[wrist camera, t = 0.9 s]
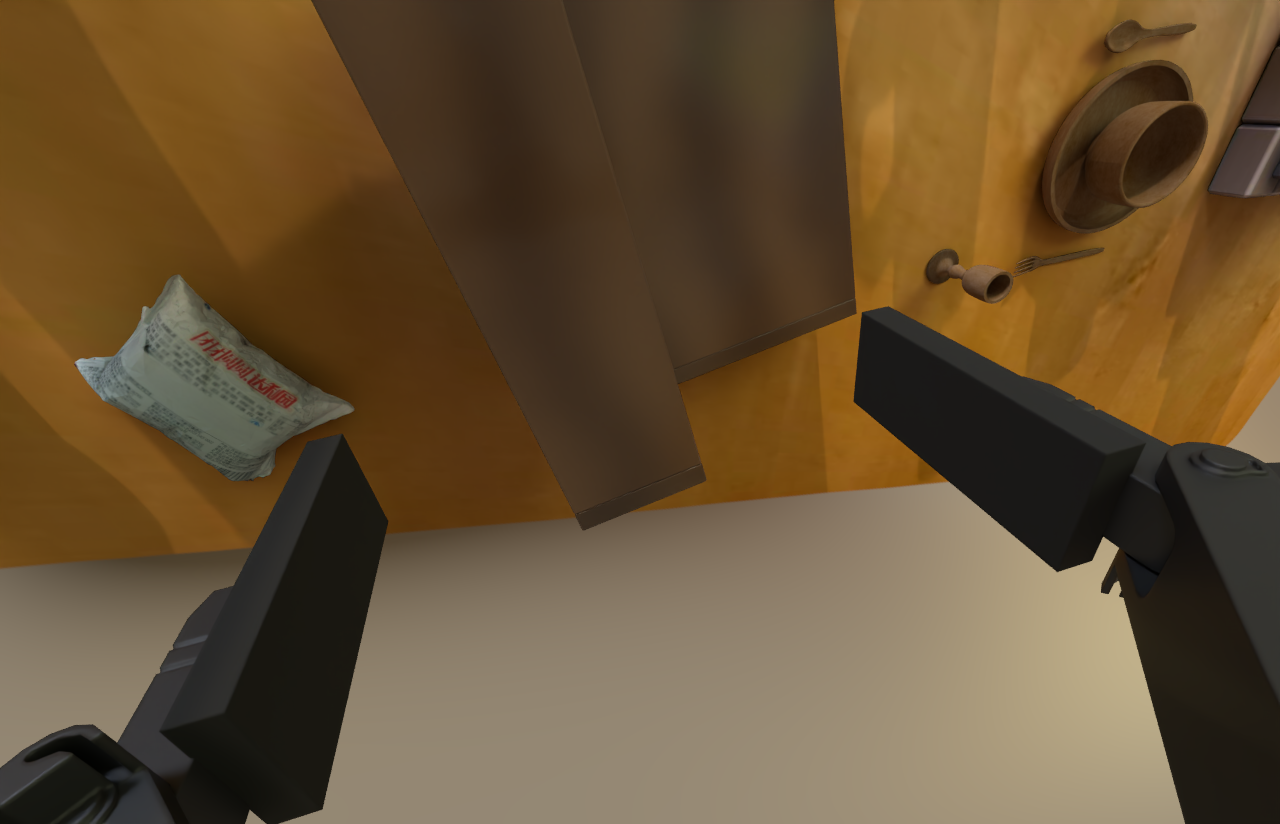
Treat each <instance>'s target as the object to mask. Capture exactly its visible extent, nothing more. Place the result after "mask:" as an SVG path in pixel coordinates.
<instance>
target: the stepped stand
mask: <svg viewBox="0 0 1280 824" xmlns="http://www.w3.org/2000/svg"><path fill="white" fill-rule="evenodd" d="M311 1H312V3H313V5H314V7H315V9H316V10H317V12H318V14H319V16H320V18H321V20H322V22H323V24H324V26H325V28H326V30H327V32H328V34H329V36H330V38H331V40H332V42H333V44H334V46H335V48H336V50H337V51H338V53H339V55H340V57H341V59H342V61H343V63H344V65H345V67H346V69H347V71H348V73H349V75H350V77H351V79H352V81H353V83H354V85H355V87H356V89H357V91H358V92H359V94H360V96H361V98H362V100H363V102H364V104H365V106H366V108H367V110H368V112H369V114H370V116H371V118H372V120H373V122H374V124H375V126H376V128H377V130H378V132H379V133H380V135H381V137H382V139H383V141H384V143H385V145H386V147H387V149H388V151H389V153H390V155H391V157H392V159H393V161H394V163H395V165H396V167H397V169H398V171H399V172H400V174H401V176H402V178H403V180H404V182H405V184H406V186H407V188H408V190H409V192H410V194H411V196H412V198H413V200H414V202H415V204H416V206H417V208H418V210H419V212H420V213H421V215H422V217H423V219H424V221H425V223H426V225H427V227H428V229H429V231H430V233H431V235H432V237H433V239H434V241H435V243H436V245H437V247H438V249H439V251H440V253H441V254H442V256H443V258H444V260H445V262H446V264H447V266H448V268H449V270H450V272H451V274H452V276H453V278H454V280H455V282H456V284H457V286H458V288H459V290H460V292H461V294H462V295H463V297H464V299H465V301H466V303H467V305H468V307H469V309H470V311H471V313H472V315H473V317H474V319H475V321H476V323H477V325H478V327H479V329H480V331H481V333H482V334H483V336H484V338H485V340H486V342H487V344H488V346H489V348H490V350H491V352H492V354H493V356H494V358H495V360H496V362H497V364H498V366H499V368H500V370H501V372H502V374H503V375H504V377H505V379H506V381H507V383H508V385H509V387H510V389H511V391H512V393H513V395H514V397H515V399H516V401H517V403H518V405H519V407H520V409H521V411H522V413H523V415H524V416H525V418H526V420H527V422H528V424H529V426H530V428H531V430H532V432H533V434H534V436H535V438H536V440H537V442H538V444H539V446H540V448H541V450H542V452H543V454H544V456H545V457H546V459H547V461H548V463H549V465H550V467H551V469H552V471H553V473H554V475H555V477H556V479H557V481H558V483H559V485H560V487H561V489H562V491H563V493H564V495H565V496H566V498H567V500H568V502H569V504H570V506H571V508H572V510H573V512H574V513H575V516H576V518H577V520H578V522H579V524H580V526H581V528H582V530H586V529H589V528H591V527H594V526H596V525H598V524H601V523H603V522H606V521H608V520H611V519H613V518H616V517H618V516H621V515H623V514H626V513H628V512H630V511H633V510H635V509H638V508H640V507H643V506H645V505H648V504H650V503H653V502H655V501H658V500H660V499H663V498H665V497H667V496H670V495H672V494H675V493H677V492H680V491H682V490H685V489H687V488H690V487H692V486H695V485H697V484H700V483H702V482H704V481H706V480H707V479H706V476H705V473H704V469H703V466H702V463H701V460H700V456H699V453H698V450H697V446H696V443H695V440H694V436H693V433H692V430H691V426H690V423H689V420H688V416H687V413H686V410H685V407H684V403H683V400H682V397H681V393H680V390H679V387H678V384H679V383H682V382H684V381H687V380H689V379H692V378H694V377H697V376H700V375H702V374H705V373H707V372H710V371H712V370H715V369H717V368H720V367H722V366H725V365H727V364H730V363H732V362H735V361H737V360H740V359H743V358H745V357H748V356H750V355H753V354H755V353H758V352H760V351H763V350H765V349H768V348H770V347H773V346H775V345H778V344H781V343H783V342H786V341H788V340H791V339H793V338H796V337H798V336H801V335H803V334H806V333H808V332H811V331H813V330H816V329H818V328H821V327H824V326H826V325H829V324H831V323H834V322H836V321H839V320H841V319H844V318H846V317H849V316H851V315H854V314H856V300H855V287H854V273H853V259H852V245H851V231H850V217H849V203H848V190H847V176H846V162H845V148H844V134H843V120H842V106H841V92H840V79H839V65H838V51H837V37H836V23H835V9H834V0H311Z"/></svg>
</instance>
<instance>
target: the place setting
mask: <svg viewBox="0 0 1280 824" xmlns="http://www.w3.org/2000/svg"><path fill="white" fill-rule="evenodd" d="M1195 28H1196V24H1192V23H1184V24H1177V25H1171V26H1166V27H1161V28H1155V29H1144V28H1143V27H1142V26H1141V25H1140V24H1139V23H1138V22H1136V21H1134V20H1127V21H1124V22H1122V23H1120V24H1118V25H1117V26H1115V27H1114V28H1112V29H1111V30H1110V31H1109V32H1108V34H1107V35H1106V38H1105V42H1104V44H1105V47H1106V48H1107V49H1108V50H1110V51H1112V52H1115V53H1120V52H1123V51H1125V50H1127V49H1129V48H1130V47H1132V46H1133V45H1134V44H1135V43H1136V42H1138V41H1139V40H1141V39H1143V38H1147V37H1154V36H1166V35H1177V34H1183V33H1187V32H1190V31H1192V30H1194V29H1195ZM1207 131H1208V121H1207V116H1206V113H1205V111H1204V109H1203V108H1202V106H1200V105H1199V104H1198V103H1195V102H1193V94H1192V88H1191V84H1190V81H1189V79H1188V77H1187V75H1186V73H1185V72H1184V71H1183V70H1182V69H1181V68H1180V67H1179V66H1178V65H1176V64H1174V63H1172V62H1169V61H1164V60H1150V61H1144V62H1139V63H1135V64H1132V65H1129V66H1127V67H1124V68H1122V69H1120V70H1118V71H1116V72H1114V73H1113V74H1111V75H1109V76H1108V77H1106V78H1105V79H1103V80H1102V81H1101V82H1099V83H1098V84H1097V85H1096V86H1095V87H1093V88H1092V89H1091V90H1090V91H1089V92H1088V93H1087V94H1086V95H1085V96H1084V97H1083V98H1082V99H1081V100H1080V101H1079V102H1078V103H1077V105H1076V106H1075V107H1074V108H1073V109H1072V111H1071V112H1070V113H1069V115H1068V116H1067V118H1066V119H1065V120H1064V122H1063V124H1062V125H1061V127H1060V129H1059V130H1058V132H1057V134H1056V136H1055V138H1054V140H1053V142H1052V145H1051V147H1050V150H1049V152H1048V155H1047V158H1046V161H1045V166H1044V170H1043V178H1042V195H1043V201H1044V204H1045V208H1046V210H1047V212H1048V214H1049V215H1050V217H1051V218H1052V219H1053V221H1054V222H1056V223H1057V224H1058V225H1059V226H1061V227H1063V228H1065V229H1067V230H1069V231H1073V232H1077V233H1095V232H1098V231H1102V230H1105V229H1107V228H1110V227H1112V226H1114V225H1116V224H1117V223H1119V222H1121V221H1122V220H1124V219H1125V218H1127V217H1128V216H1130V215H1131V214H1132V213H1133V212H1135V211H1136V210H1137V209H1138V208H1144V207H1148V206H1151V205H1153V204H1155V203H1157V202H1159V201H1161V200H1162V199H1164V198H1165V197H1167V196H1168V195H1169V194H1171V193H1172V192H1173V191H1174V190H1175V189H1176V188H1177V187H1178V186H1179V185H1180V184H1181V183H1182V182H1183V181H1184V180H1185V178H1186V177H1187V176H1188V175H1189V173H1190V172H1191V170H1192V169H1193V167H1194V166H1195V164H1196V162H1197V160H1198V159H1199V157H1200V155H1201V152H1202V150H1203V147H1204V144H1205V141H1206V137H1207ZM1103 251H1104V248H1096V249H1090V250H1085V251H1080V252H1076V253H1071V254H1067V255H1063V256H1058V257H1054V258H1050V259H1044V260H1042V259H1040V258H1039V257H1037V256H1033V257H1030V258H1027V259H1025V260H1022V261H1020V262H1018V263H1016V264H1019V263H1022V262H1025V261H1027V260H1030V259H1034V260H1033V261H1030V262H1027V263H1024V264H1022V265H1020V266H1018V267H1016V268H1019V267H1022V266H1025V265H1027V264H1030V263H1033V264H1032V265H1030V266H1027V267H1024V268H1022V269H1019V270H1017V271H1015V272H1014V273H1016V272H1019V271H1022V270H1024V269H1027V268H1030V267H1031V269H1029V270H1026V271H1024V272H1021V273H1019V274H1017V275H1014V276H1012V275H1011V273H1009V272H1007V271H1004V270H1002V269H999V268H996V267H992V266H988V265H977V266H974V267H972V268H970V269H969V270H965V269H964V268H963V267H962V266H960V265H958V261H959V259H958V255H957V253H956V252H955V251H954V250H951V249H945V250H942V251H940V252H938V253H937V254H936V255H935V256H934V257H933V258H932V259H931V260H930V262H929V264H928V267H927V277H928V279H929V280H930V281H931V282H932V283H935V284H939V283H943V282H945V281H947V280H948V279H949V278H950V277H951V278H954V279H957V278H960V279H961V280H962V287H963V289H964V290H965V291H966V292H967V293H968V294H969V295H971V296H973V297H975V298H977V299H979V300H982V301H984V302H987V303H991V304H993V303H997V302H999V301H1001V300H1002V299H1004V298H1005V297H1006V296H1007V295H1008V293H1009V292H1010V290H1011V288H1012V285H1013V277H1016V276H1019V275H1021V274H1024V273H1026V272H1029V271H1032V270H1034V269H1035V268H1037V267H1038V266H1041V265H1046V264H1051V263H1056V262H1061V261H1066V260H1070V259H1075V258H1079V257H1084V256H1088V255H1092V254H1096V253H1100V252H1103Z"/></svg>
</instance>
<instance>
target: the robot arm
mask: <svg viewBox="0 0 1280 824" xmlns="http://www.w3.org/2000/svg"><path fill="white" fill-rule="evenodd" d="M854 402H855V403H856V404H857V405H858V406H859V407H861V408H862V409H863V410H864V411H865V412H867V413H868V414H869V415H870V416H871V417H873V418H874V419H875V420H876V421H877V422H879V423H880V424H881V425H882V426H883V427H884V428H886V429H887V430H888V431H889V432H890V433H892V434H893V435H894V436H895V437H896V438H898V439H899V440H900V441H901V442H902V443H904V444H905V445H906V446H907V447H908V448H910V449H911V450H912V451H913V452H914V453H916V454H917V455H918V456H919V457H920V458H922V459H923V460H924V461H925V462H926V463H927V464H929V465H930V466H931V467H932V468H933V469H935V470H936V471H937V472H938V473H939V474H941V475H942V476H943V477H944V478H945V479H947V480H948V481H949V482H950V483H951V484H953V485H954V486H955V487H956V488H957V489H959V490H960V491H961V492H962V493H963V494H965V495H966V496H967V497H968V498H969V499H971V500H972V501H973V502H974V503H975V504H977V505H978V506H979V507H980V508H981V509H982V510H984V511H985V512H986V513H987V514H988V515H990V516H991V517H992V518H993V519H994V520H996V521H997V522H998V523H999V524H1000V525H1002V526H1003V527H1004V528H1005V529H1006V530H1008V531H1009V532H1010V533H1011V534H1012V535H1014V536H1015V537H1016V538H1017V539H1018V540H1019V541H1021V542H1022V543H1023V544H1024V545H1026V546H1027V547H1028V548H1029V549H1030V550H1031V551H1033V552H1034V553H1035V554H1036V555H1037V556H1039V557H1040V558H1041V559H1042V560H1043V561H1045V562H1046V563H1047V564H1048V565H1049V566H1051V567H1052V568H1053V569H1054V570H1056V571H1057V572H1059V571H1062V570H1065V569H1068V568H1071V567H1074V566H1077V565H1080V564H1083V563H1087V562H1090V561H1092V560H1093V558H1094V555H1095V553H1096V551H1097V549H1098V547H1099V544H1100V542H1101V540H1102V538H1103V537H1105V538H1106V539H1108V540H1109V541H1110V542H1112V543H1113V544H1115V545H1116V546H1117V547H1119V550H1118V552H1117V554H1116V556H1115V558H1114V560H1113V562H1112V564H1111V566H1110V568H1109V570H1108V572H1107V574H1106V576H1105V578H1104V580H1103V582H1102V587H1101V593H1105V594H1109V592H1110V590H1111V588H1112V586H1113V584H1114V583H1115V582H1117V581H1119V582H1120V587H1121V590H1122V591H1121V593H1120V595H1119V596H1120V597H1123V598H1124V601H1125V605H1126V608H1127V612H1128V616H1129V619H1130V623H1131V626H1132V630H1133V634H1134V638H1135V641H1136V645H1137V649H1138V652H1139V656H1140V659H1141V663H1142V667H1143V671H1144V674H1145V678H1146V681H1147V685H1148V689H1149V693H1150V696H1151V700H1152V703H1153V707H1154V711H1155V715H1156V718H1157V722H1158V726H1159V729H1160V733H1161V737H1162V740H1163V744H1164V747H1165V751H1166V755H1167V759H1168V762H1169V766H1170V770H1171V773H1172V777H1173V781H1174V784H1175V788H1176V792H1177V795H1178V799H1179V802H1180V806H1181V809H1182V814H1183V817H1184V820H1185V824H1280V463H1264V462H1262V461H1260V460H1259V459H1256V458H1255V457H1253V456H1251V455H1249V454H1247V453H1244V452H1241V451H1238V450H1235V449H1232V448H1229V447H1226V446H1220V445H1215V444H1210V443H1198V442H1186V443H1181V444H1176V445H1174V446H1170V445H1168V444H1166V443H1164V442H1162V441H1160V440H1158V439H1156V438H1154V437H1152V436H1150V435H1148V434H1146V433H1144V432H1142V431H1140V430H1138V429H1137V428H1135V427H1133V426H1131V425H1129V424H1127V423H1125V422H1123V421H1121V420H1119V419H1117V418H1115V417H1113V416H1111V415H1109V414H1107V413H1105V412H1103V411H1102V410H1100V409H1099V410H1095V408H1094V406H1092V405H1090V404H1088V403H1086V402H1084V401H1082V400H1080V399H1079V400H1076V399H1075V397H1074V396H1072V395H1070V394H1068V393H1067V392H1065V391H1063V390H1061V389H1059V388H1057V387H1055V386H1053V385H1050V384H1047V383H1044V382H1040V381H1037V380H1033V379H1030V378H1027V377H1021V376H1019V375H1017V374H1015V373H1014V372H1012V371H1010V370H1008V369H1006V368H1004V367H1002V366H1000V365H998V364H997V363H995V362H993V361H991V360H989V359H987V358H985V357H983V356H981V355H979V354H978V353H976V352H974V351H972V350H970V349H968V348H966V347H964V346H962V345H961V344H959V343H957V342H955V341H953V340H951V339H949V338H947V337H945V336H944V335H942V334H940V333H938V332H936V331H934V330H932V329H930V328H928V327H926V326H925V325H923V324H921V323H919V322H917V321H915V320H913V319H911V318H909V317H908V316H906V315H904V314H902V313H900V312H898V311H896V310H894V309H892V308H890V307H889V306H888V307H883V308H879V309H875V310H870V311H866V312H862V318H861V328H860V339H859V349H858V360H857V370H856V381H855V391H854ZM387 525H388V520H387V518H386V516H385V514H384V512H383V510H382V508H381V506H380V504H379V503H378V501H377V499H376V497H375V495H374V493H373V491H372V489H371V487H370V485H369V483H368V481H367V480H366V478H365V476H364V474H363V472H362V470H361V468H360V466H359V464H358V462H357V460H356V458H355V457H354V455H353V453H352V451H351V449H350V447H349V445H348V443H347V441H346V439H345V437H344V435H343V434H339V435H335V436H330V437H326V438H322V439H317V440H313V441H309V442H307V444H306V446H305V448H304V450H303V452H302V454H301V456H300V458H299V459H298V461H297V463H296V465H295V467H294V469H293V471H292V473H291V475H290V477H289V479H288V481H287V483H286V485H285V487H284V489H283V491H282V493H281V495H280V496H279V498H278V500H277V502H276V504H275V506H274V508H273V510H272V512H271V514H270V516H269V518H268V520H267V522H266V524H265V526H264V528H263V530H262V532H261V534H260V535H259V537H258V539H257V541H256V543H255V545H254V547H253V549H252V551H251V553H250V555H249V557H248V559H247V561H246V563H245V565H244V567H243V569H242V571H241V572H240V574H239V576H238V579H237V580H236V582H235V585H234V586H231V587H228V588H224V589H220V590H216V591H214V592H213V593H212V594H211V595H210V596H209V597H208V598H207V599H206V600H205V601H204V602H203V603H202V604H201V605H200V606H199V607H198V608H197V609H196V610H195V611H194V612H193V614H192V615H191V616H190V617H189V618H188V619H187V621H186V623H185V625H184V626H183V628H182V630H181V632H180V633H179V635H178V637H177V639H176V640H175V642H174V644H173V648H174V649H173V650H171V651H169V653H168V654H167V656H166V658H165V660H164V661H163V663H162V665H161V667H160V673H159V674H156V676H155V677H154V679H153V681H152V683H151V684H150V686H149V688H148V690H147V691H146V693H145V695H144V697H143V698H142V700H141V702H140V704H139V705H138V708H137V709H136V711H135V712H134V714H133V716H132V718H131V719H130V721H129V723H128V725H127V727H126V728H125V730H124V732H123V734H122V735H121V737H120V739H119V741H118V742H117V743H116V742H115V741H114V740H113V739H111V738H110V737H109V736H107V735H106V734H105V733H103V732H102V731H101V730H100V729H98V728H97V727H96V726H94V725H74V726H71V727H68V728H66V729H63V730H60V731H57V732H55V733H52V734H50V735H48V736H46V737H44V738H43V739H41V740H39V741H38V742H36V743H35V744H32V745H31V746H29V747H27V748H26V749H24V750H22V751H21V752H20V753H19V754H17V755H16V756H15V757H13V758H12V759H11V760H10V761H8V762H7V763H6V764H5V765H3V766H2V767H1V768H0V824H245V822H246V819H247V816H248V813H249V810H251V811H252V812H253V813H254V814H256V815H257V816H258V817H259V818H260V819H261V820H263V821H264V822H265V823H266V824H279V823H281V822H285V821H288V820H291V819H294V818H297V817H301V816H304V815H307V814H310V813H313V812H316V811H319V810H322V809H323V804H324V800H325V795H326V791H327V787H328V782H329V778H330V774H331V770H332V765H333V761H334V756H335V752H336V748H337V743H338V739H339V735H340V730H341V725H342V721H343V717H344V712H345V708H346V704H347V700H348V695H349V691H350V686H351V682H352V678H353V673H354V669H355V664H356V660H357V656H358V652H359V647H360V643H361V638H362V634H363V629H364V625H365V621H366V617H367V612H368V607H369V603H370V599H371V594H372V590H373V586H374V582H375V577H376V573H377V568H378V564H379V560H380V555H381V551H382V547H383V542H384V537H385V534H386V529H387Z"/></svg>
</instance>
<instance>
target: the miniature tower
mask: <svg viewBox="0 0 1280 824" xmlns="http://www.w3.org/2000/svg"><path fill="white" fill-rule="evenodd" d="M1242 120H1243V122H1244V123H1254V124H1243V125H1241V126H1240V127H1238V128H1237V129H1236V131H1235V134H1234V136H1233V138H1232V140H1231V142H1230V144H1229V146H1228V148H1227V150H1226V153H1225V155H1224V157H1223V159H1222V161H1221V163H1220V165H1219V167H1218V169H1217V171H1216V174H1215V176H1214V178H1213V180H1212V182H1211V184H1210V186H1209V188H1208V191H1209V193H1210V194H1215V195H1223V196H1230V197H1237V198H1253V197H1262V196H1273V195H1280V46H1278V47H1277V48H1275V49H1274V52H1273V54H1272V56H1271V58H1270V60H1269V62H1268V64H1267V66H1266V68H1265V70H1264V73H1263V75H1262V77H1261V79H1260V81H1259V83H1258V85H1257V87H1256V89H1255V92H1254V94H1253V96H1252V98H1251V100H1250V102H1249V104H1248V106H1247V108H1246V110H1245V113H1244V115H1243V117H1242Z"/></svg>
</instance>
